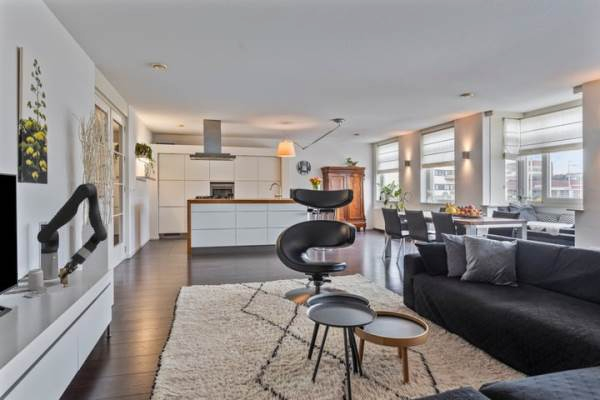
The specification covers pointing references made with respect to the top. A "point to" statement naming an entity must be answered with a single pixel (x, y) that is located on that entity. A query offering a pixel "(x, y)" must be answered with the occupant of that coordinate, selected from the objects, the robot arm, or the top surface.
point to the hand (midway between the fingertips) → (60, 277)
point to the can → (35, 279)
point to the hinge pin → (65, 280)
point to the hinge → (49, 289)
